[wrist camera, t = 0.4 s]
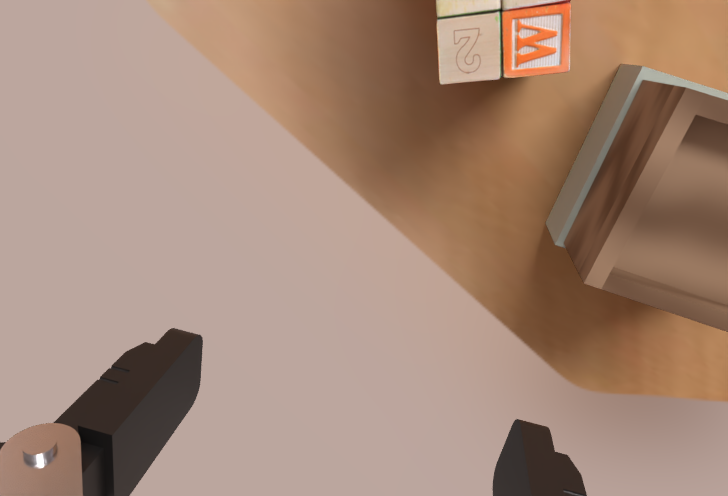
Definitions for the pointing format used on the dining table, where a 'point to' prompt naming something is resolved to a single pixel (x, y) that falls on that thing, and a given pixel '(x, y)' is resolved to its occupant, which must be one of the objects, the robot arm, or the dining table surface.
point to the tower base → (605, 142)
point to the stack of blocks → (501, 39)
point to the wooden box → (661, 207)
